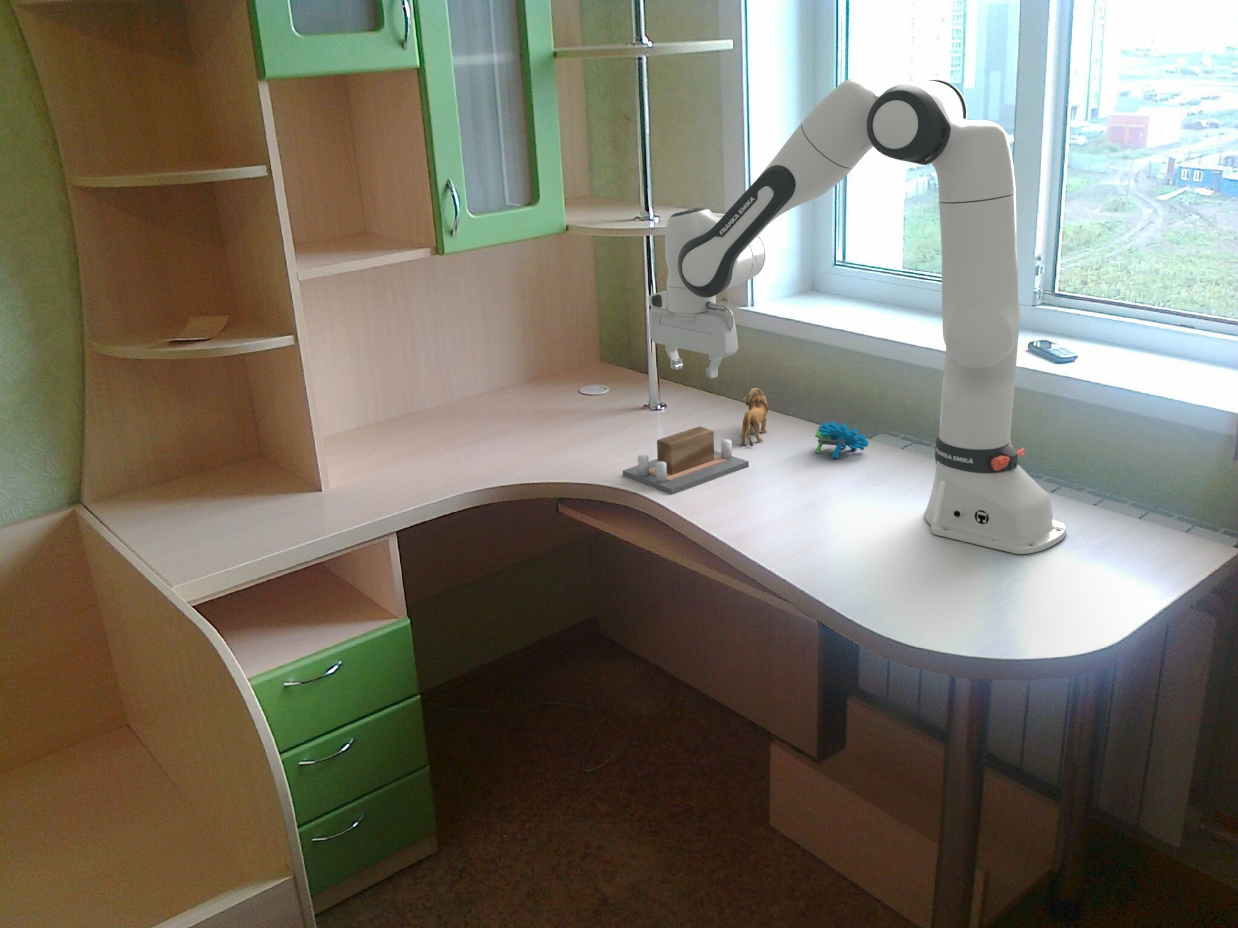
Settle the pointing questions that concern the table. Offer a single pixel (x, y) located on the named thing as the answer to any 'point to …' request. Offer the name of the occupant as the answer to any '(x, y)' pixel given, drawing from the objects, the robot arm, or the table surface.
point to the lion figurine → (754, 415)
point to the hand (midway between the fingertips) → (694, 372)
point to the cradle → (660, 479)
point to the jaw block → (686, 449)
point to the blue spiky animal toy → (839, 437)
